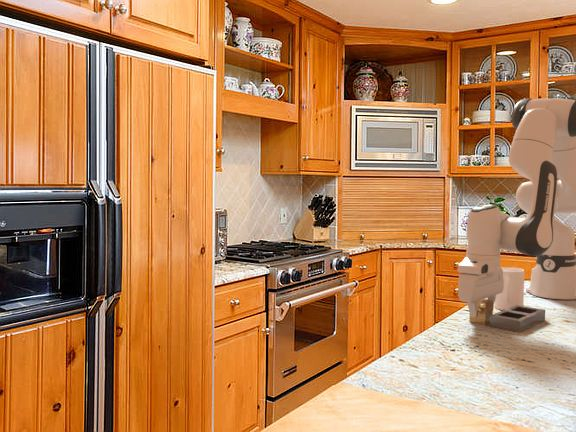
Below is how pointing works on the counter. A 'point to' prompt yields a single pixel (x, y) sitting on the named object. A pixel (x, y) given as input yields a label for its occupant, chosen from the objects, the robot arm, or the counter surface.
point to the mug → (511, 289)
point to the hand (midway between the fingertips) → (481, 313)
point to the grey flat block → (517, 318)
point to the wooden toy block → (483, 312)
